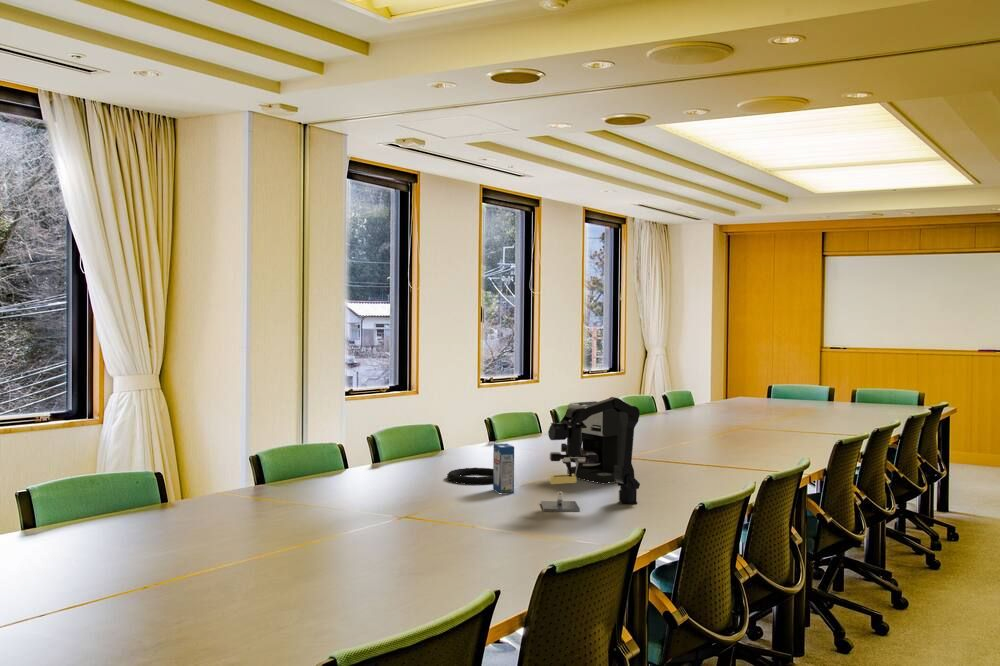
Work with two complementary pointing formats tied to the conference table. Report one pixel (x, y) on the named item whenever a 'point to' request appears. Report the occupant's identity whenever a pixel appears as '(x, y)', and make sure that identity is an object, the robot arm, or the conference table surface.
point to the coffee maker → (600, 445)
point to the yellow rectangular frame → (562, 479)
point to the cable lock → (456, 477)
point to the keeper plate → (559, 508)
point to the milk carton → (503, 468)
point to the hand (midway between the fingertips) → (573, 478)
